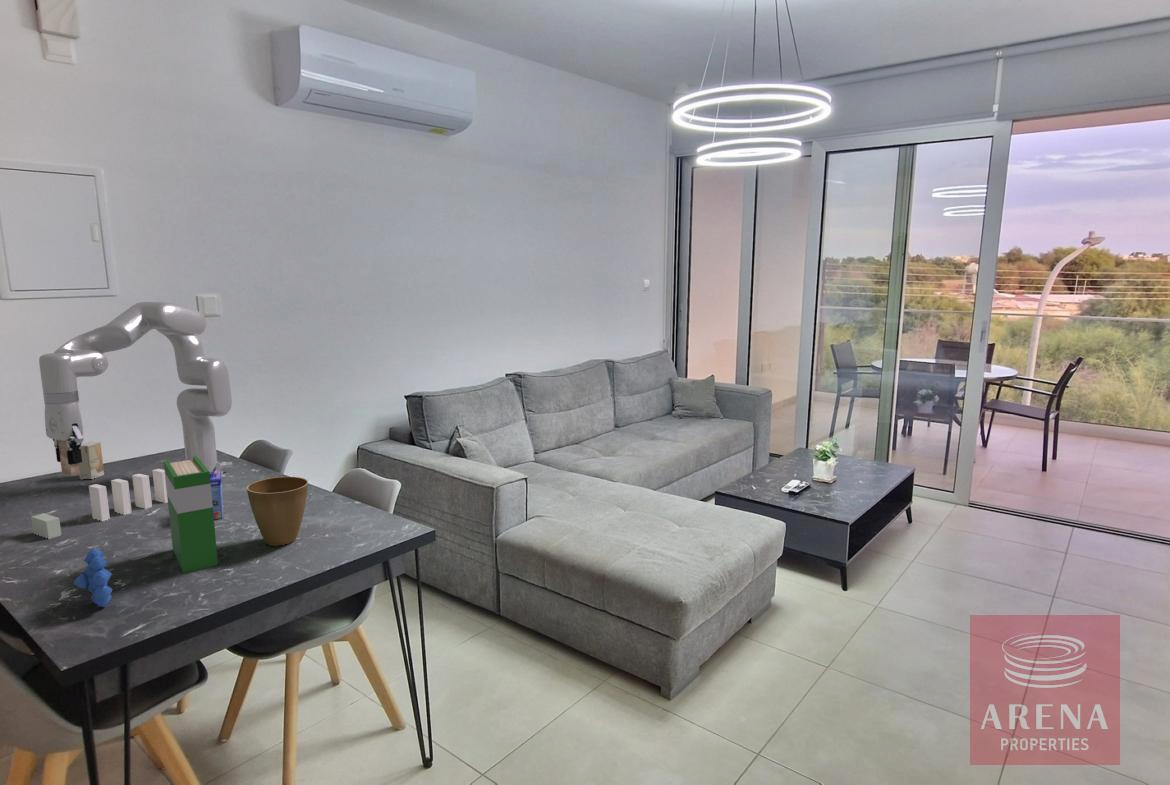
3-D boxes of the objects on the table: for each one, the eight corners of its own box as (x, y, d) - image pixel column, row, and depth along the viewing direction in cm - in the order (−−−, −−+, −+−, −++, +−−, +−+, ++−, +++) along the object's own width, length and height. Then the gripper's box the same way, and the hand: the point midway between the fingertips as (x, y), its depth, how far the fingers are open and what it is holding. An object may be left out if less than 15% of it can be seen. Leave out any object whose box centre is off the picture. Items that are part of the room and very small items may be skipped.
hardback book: (172, 549, 171) (163, 460, 167) (205, 542, 176) (196, 456, 172) (183, 573, 158) (173, 477, 154) (218, 565, 162) (209, 471, 158)
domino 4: (142, 504, 205) (139, 473, 203) (152, 506, 203) (148, 475, 201) (135, 506, 203) (132, 475, 201) (145, 508, 201) (141, 477, 199)
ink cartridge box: (224, 518, 193) (219, 471, 191) (202, 521, 191) (197, 473, 188) (224, 508, 202) (220, 462, 200) (204, 511, 200) (199, 465, 197)
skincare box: (91, 480, 228) (87, 446, 226) (79, 480, 228) (75, 445, 226) (105, 474, 235) (101, 441, 233) (93, 474, 235) (89, 441, 233)
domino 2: (100, 516, 194) (96, 484, 193) (109, 519, 192) (106, 486, 190) (92, 518, 192) (88, 485, 191) (102, 521, 190) (98, 488, 189)
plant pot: (282, 555, 168) (277, 495, 165) (238, 547, 173) (233, 489, 170) (323, 534, 182) (320, 479, 179) (282, 527, 187) (277, 473, 184)
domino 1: (70, 471, 186) (65, 436, 185) (80, 473, 184) (75, 439, 182) (62, 473, 184) (57, 438, 183) (71, 475, 182) (67, 440, 181)
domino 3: (121, 510, 200) (118, 478, 198) (131, 513, 197) (127, 481, 196) (114, 512, 198) (111, 480, 196) (124, 515, 196) (120, 482, 194)
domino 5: (162, 498, 210) (158, 468, 208) (171, 501, 208) (168, 470, 206) (155, 500, 208) (152, 470, 207) (165, 503, 206) (162, 472, 204)
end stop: (46, 530, 183) (43, 513, 183) (61, 535, 180) (59, 518, 179) (33, 533, 181) (30, 516, 180) (48, 539, 177) (46, 521, 176)
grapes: (72, 600, 144) (65, 548, 142) (109, 589, 149) (103, 539, 147) (81, 619, 136) (74, 565, 134) (120, 608, 141) (114, 555, 139)
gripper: (29, 397, 181) (37, 461, 184) (62, 403, 174) (71, 469, 177) (60, 393, 188) (68, 455, 191) (94, 398, 180) (101, 462, 183)
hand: (69, 461), depth 184 cm, fingers closed on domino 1, 4 cm apart
